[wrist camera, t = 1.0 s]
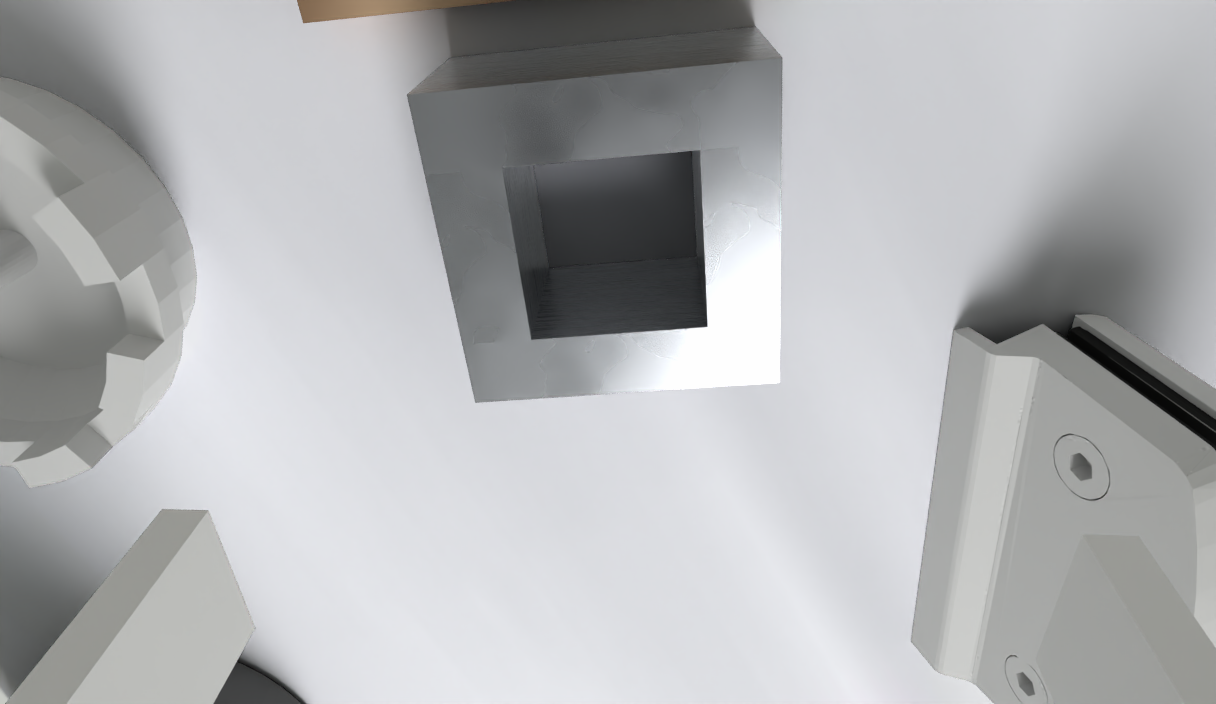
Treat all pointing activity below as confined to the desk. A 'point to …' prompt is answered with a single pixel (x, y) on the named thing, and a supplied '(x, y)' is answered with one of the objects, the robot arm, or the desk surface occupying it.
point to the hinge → (1057, 490)
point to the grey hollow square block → (624, 291)
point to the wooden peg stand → (373, 7)
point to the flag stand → (81, 286)
